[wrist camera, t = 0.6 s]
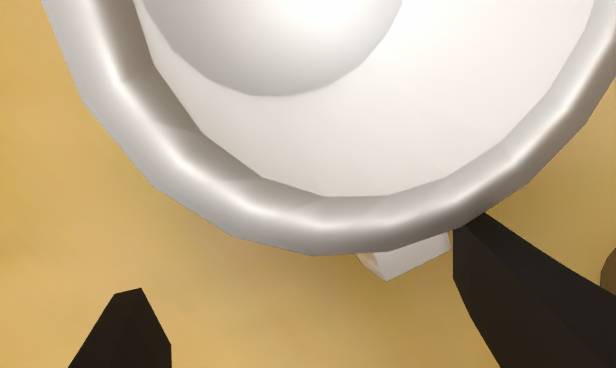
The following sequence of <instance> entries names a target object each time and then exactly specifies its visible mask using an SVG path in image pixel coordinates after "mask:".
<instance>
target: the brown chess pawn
mask: <svg viewBox="0 0 616 368" xmlns="http://www.w3.org/2000/svg"><path fill="white" fill-rule="evenodd" d="M600 286H601V287H602V288H603V289H605V290H607V291H609V292H610V293H612V294H614V295H616V248H615V250H614V251H613V252H612V253H611V255H610V256H609V257H608V258H607V260H606V263H605V265H604V267H603V269H602V271H601V280H600Z"/></svg>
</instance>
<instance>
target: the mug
mask: <svg viewBox="0 0 616 368" xmlns="http://www.w3.org/2000/svg"><path fill="white" fill-rule="evenodd" d="M41 2H42V4H43V7H44V9H45V12H46V14H47V17H48V19H49V22H50V24H51V27H52V29H53V31H54V34H55V36H56V39H57V41H58V44H59V46H60V49H61V51H62V54H63V56H64V58H65V61H66V63H67V66H68V68H69V71H70V73H71V76H72V78H73V81H74V83H75V85H76V88H77V90H78V93H79V95H80V98H81V100H82V102H83V104H84V105H85V106H86V107H87V108H88V110H89V111H90V112H91V113H92V114H93V116H94V117H95V118H96V119H97V120H98V122H99V123H100V124H101V125H102V126H103V128H104V129H105V130H106V131H107V132H108V134H109V135H110V136H111V137H112V138H113V140H114V141H115V142H116V143H117V144H118V146H119V147H120V148H121V149H122V150H123V152H124V153H125V154H126V155H127V156H128V158H129V159H130V160H131V161H132V162H133V164H134V165H135V166H136V167H137V168H138V170H139V171H140V172H141V173H142V174H143V176H144V177H145V178H146V179H147V180H148V182H149V183H150V184H151V185H152V186H153V187H154V188H156V189H157V190H159V191H160V192H162V193H164V194H165V195H167V196H168V197H170V198H172V199H173V200H175V201H176V202H178V203H180V204H181V205H183V206H184V207H186V208H188V209H189V210H191V211H192V212H194V213H196V214H197V215H199V216H200V217H202V218H204V219H205V220H207V221H208V222H210V223H212V224H213V225H215V226H216V227H218V228H219V229H221V230H223V231H224V232H226V233H227V234H229V235H231V236H233V237H237V238H241V239H245V240H249V241H253V242H257V243H261V244H265V245H269V246H273V247H277V248H281V249H285V250H289V251H293V252H297V253H301V254H305V255H309V256H323V255H341V254H355V255H356V256H357V257H358V259H359V260H360V262H361V263H362V264H363V265H364V266H365V267H366V268H368V269H369V270H370V271H372V272H373V273H374V274H376V275H377V276H378V277H380V278H381V279H382V280H384V281H385V282H388V281H390V280H392V279H394V278H396V277H398V276H400V275H402V274H404V273H406V272H408V271H410V270H412V269H414V268H416V267H418V266H420V265H422V264H424V263H426V262H428V261H430V260H432V259H434V258H436V257H438V256H440V255H442V254H444V253H446V252H448V251H450V250H451V246H450V241H449V237H448V231H451V230H454V229H457V228H460V227H462V226H464V225H465V224H467V223H468V222H470V221H471V220H473V219H474V218H476V217H477V216H479V215H480V214H482V213H484V212H485V211H487V210H488V209H490V208H491V207H493V206H494V205H496V204H497V203H499V202H500V201H502V200H503V199H505V198H507V197H508V196H510V195H511V194H513V193H514V192H516V191H517V190H519V189H520V188H522V187H523V186H525V185H527V184H528V183H529V182H530V181H531V179H532V178H533V177H534V176H535V175H536V174H537V173H538V172H539V171H540V170H541V169H542V168H543V167H544V166H545V165H546V164H547V163H548V162H549V161H550V160H551V159H552V158H553V157H554V156H555V155H556V154H557V153H558V152H559V151H560V150H561V149H562V148H563V147H564V146H565V145H566V143H567V142H568V141H569V140H570V139H571V138H572V137H573V136H574V135H575V134H576V133H577V132H578V131H579V130H580V129H581V128H582V127H583V126H584V125H585V123H586V122H587V120H588V119H589V117H590V116H591V114H592V112H593V111H594V109H595V108H596V106H597V105H598V103H599V101H600V100H601V98H602V97H603V95H604V94H605V92H606V90H607V89H608V87H609V86H610V84H611V82H612V81H613V79H614V78H615V76H616V0H41Z"/></svg>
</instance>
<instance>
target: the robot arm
mask: <svg viewBox="0 0 616 368" xmlns="http://www.w3.org/2000/svg"><path fill="white" fill-rule="evenodd" d="M453 279H454V281H455V284H456V286H457V288H458V291H459V293H460V295H461V297H462V300H463V302H464V304H465V306H466V309H467V311H468V313H469V315H470V317H471V319H472V321H473V322H474V324H475V326H476V327H477V329H478V331H479V332H480V334H481V336H482V337H483V339H484V341H485V343H486V344H487V346H488V348H489V349H490V351H491V353H492V354H493V356H494V358H495V359H496V361H497V363H498V364H499V366H500V367H501V368H616V295H614V294H612V293H610V292H609V291H607V290H605V289H603V288H602V287H600V286H598V285H596V284H595V283H593V282H591V281H589V280H588V279H586V278H584V277H582V276H580V275H579V274H577V273H575V272H574V271H572V270H571V269H569V268H567V267H566V266H564V265H562V264H561V263H559V262H558V261H556V260H555V259H553V258H551V257H550V256H548V255H547V254H545V253H544V252H542V251H541V250H539V249H538V248H536V247H534V246H533V245H531V244H530V243H528V242H527V241H526V240H524V239H523V238H521V237H520V236H518V235H517V234H515V233H514V232H512V231H511V230H509V229H508V228H507V227H505V226H504V225H502V224H501V223H499V222H498V221H496V220H495V219H493V218H492V217H491V216H489V215H488V214H486V213H485V212H484V213H482V214H480V215H479V216H477V217H476V218H474V219H473V220H471V221H470V222H468V223H467V224H465V225H464V226H462V227H460V228H457V229H454V230H453ZM68 368H172V361H171V344H170V342H169V340H168V338H167V336H166V334H165V332H164V331H163V329H162V327H161V325H160V323H159V321H158V319H157V317H156V315H155V313H154V311H153V309H152V307H151V306H150V304H149V302H148V300H147V298H146V296H145V294H144V292H143V290H142V288H138V289H134V290H129V291H125V292H121V293H117V294H114V295H113V297H112V299H111V300H110V302H109V303H108V305H107V306H106V308H105V309H104V311H103V313H102V314H101V316H100V317H99V319H98V321H97V322H96V324H95V326H94V327H93V329H92V330H91V332H90V334H89V335H88V337H87V338H86V340H85V342H84V343H83V345H82V347H81V348H80V350H79V351H78V353H77V354H76V356H75V357H74V359H73V361H72V362H71V364H70V365H69V367H68Z"/></svg>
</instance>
